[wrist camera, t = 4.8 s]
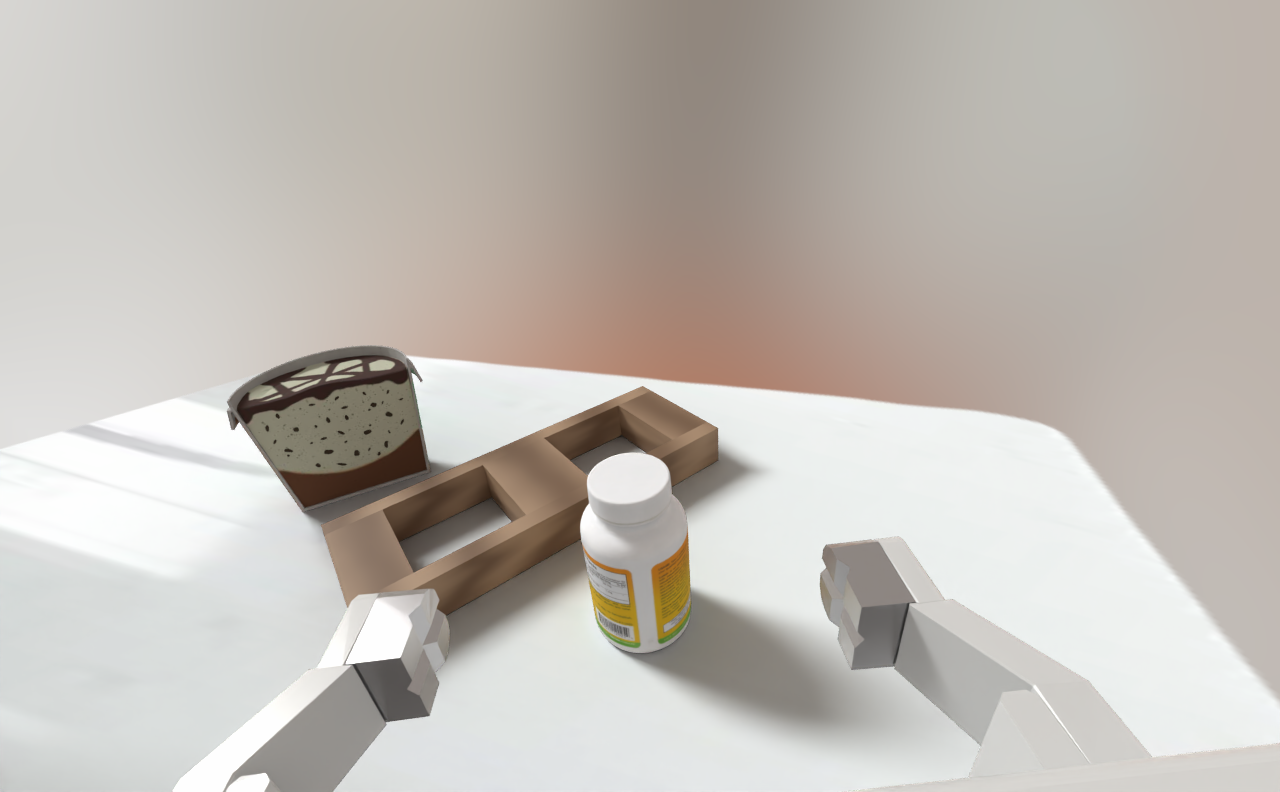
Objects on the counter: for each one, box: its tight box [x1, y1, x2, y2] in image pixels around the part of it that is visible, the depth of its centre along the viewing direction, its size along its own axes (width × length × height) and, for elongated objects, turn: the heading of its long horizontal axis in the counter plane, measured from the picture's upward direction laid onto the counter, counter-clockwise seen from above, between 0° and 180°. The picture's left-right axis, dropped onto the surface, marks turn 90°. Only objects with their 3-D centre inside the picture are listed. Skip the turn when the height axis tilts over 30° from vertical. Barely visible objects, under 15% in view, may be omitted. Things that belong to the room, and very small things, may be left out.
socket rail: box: [321, 386, 718, 615], centre depth 38 cm, size 26×9×3 cm, turn 127°
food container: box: [227, 345, 431, 512], centre depth 41 cm, size 12×6×10 cm, turn 116°
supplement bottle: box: [580, 453, 691, 653], centre depth 27 cm, size 5×5×10 cm
